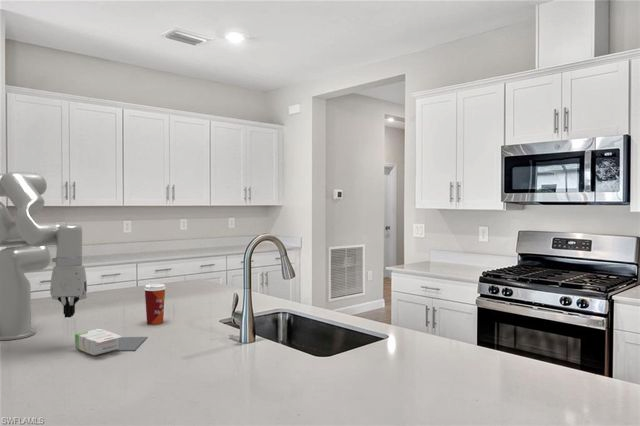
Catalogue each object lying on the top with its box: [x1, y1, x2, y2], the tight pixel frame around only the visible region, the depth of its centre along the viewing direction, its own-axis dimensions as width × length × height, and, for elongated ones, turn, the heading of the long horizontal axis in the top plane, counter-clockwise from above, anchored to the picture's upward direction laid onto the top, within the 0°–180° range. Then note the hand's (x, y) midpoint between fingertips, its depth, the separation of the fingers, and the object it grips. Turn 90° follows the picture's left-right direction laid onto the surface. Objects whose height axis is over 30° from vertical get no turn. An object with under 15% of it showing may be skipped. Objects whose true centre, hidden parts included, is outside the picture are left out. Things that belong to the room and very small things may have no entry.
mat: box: [112, 336, 148, 352], centre depth 155 cm, size 15×14×1 cm
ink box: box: [74, 328, 123, 356], centre depth 149 cm, size 9×5×15 cm
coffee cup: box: [143, 283, 167, 326], centre depth 183 cm, size 8×8×15 cm
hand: (69, 316), depth 154 cm, fingers closed
